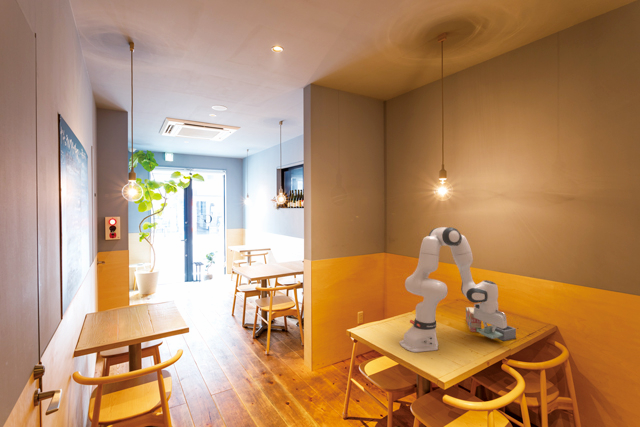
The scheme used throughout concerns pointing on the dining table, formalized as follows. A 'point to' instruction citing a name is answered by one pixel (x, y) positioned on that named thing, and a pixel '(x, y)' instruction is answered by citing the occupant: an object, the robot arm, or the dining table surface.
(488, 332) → the lid
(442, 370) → the dining table surface
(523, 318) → the dining table surface
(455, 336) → the dining table surface
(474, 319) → the stack of blocks
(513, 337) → the storage box
